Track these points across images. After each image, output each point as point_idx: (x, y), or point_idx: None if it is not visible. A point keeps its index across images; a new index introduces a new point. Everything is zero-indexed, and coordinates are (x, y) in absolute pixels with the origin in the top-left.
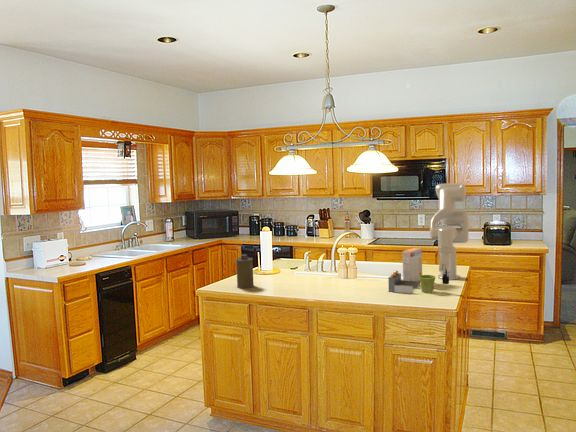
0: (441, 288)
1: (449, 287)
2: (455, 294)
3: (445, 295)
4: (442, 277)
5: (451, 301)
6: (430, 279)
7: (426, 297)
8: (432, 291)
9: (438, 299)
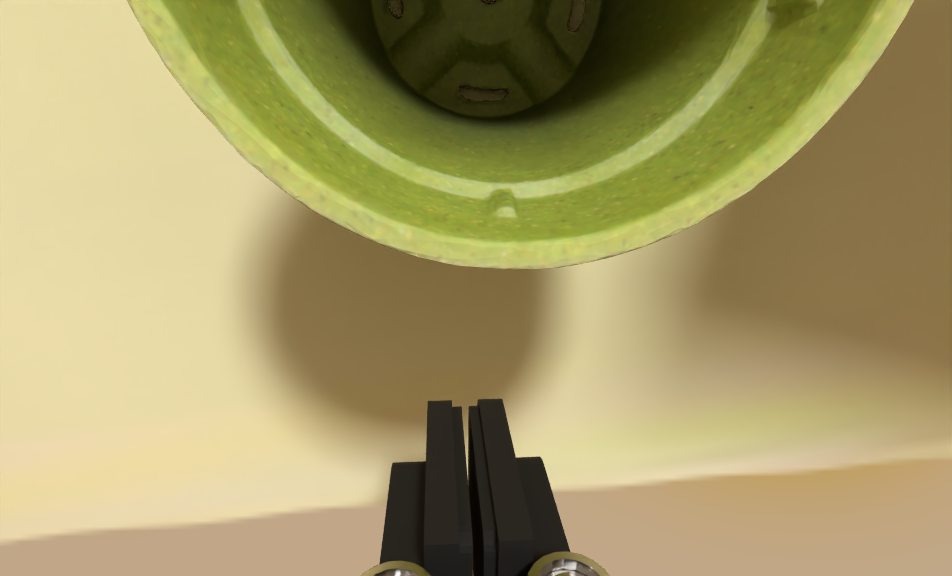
0: (815, 219)
1: (900, 329)
2: None
3: (328, 363)
4: (425, 520)
5: (9, 492)
6: (247, 89)
7: (6, 78)
8: (456, 117)
9: (3, 310)
